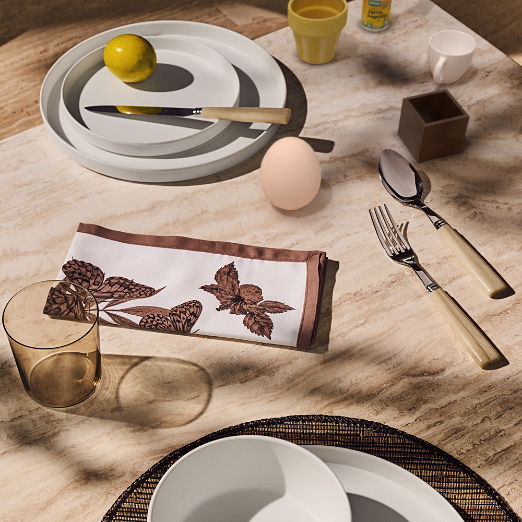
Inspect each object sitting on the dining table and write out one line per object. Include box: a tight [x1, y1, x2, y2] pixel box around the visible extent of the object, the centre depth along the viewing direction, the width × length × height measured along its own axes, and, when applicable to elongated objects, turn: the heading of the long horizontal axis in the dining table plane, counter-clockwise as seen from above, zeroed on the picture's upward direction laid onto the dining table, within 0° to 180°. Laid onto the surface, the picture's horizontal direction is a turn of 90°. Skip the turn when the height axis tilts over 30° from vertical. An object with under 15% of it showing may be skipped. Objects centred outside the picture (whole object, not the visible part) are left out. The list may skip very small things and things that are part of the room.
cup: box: [426, 29, 477, 85], centre depth 116 cm, size 8×10×7 cm
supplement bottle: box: [360, 0, 393, 33], centre depth 127 cm, size 5×5×10 cm
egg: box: [259, 136, 322, 211], centre depth 96 cm, size 9×9×11 cm
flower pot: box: [287, 0, 349, 65], centre depth 121 cm, size 10×10×10 cm
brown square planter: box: [397, 88, 471, 164], centre depth 105 cm, size 7×7×7 cm
